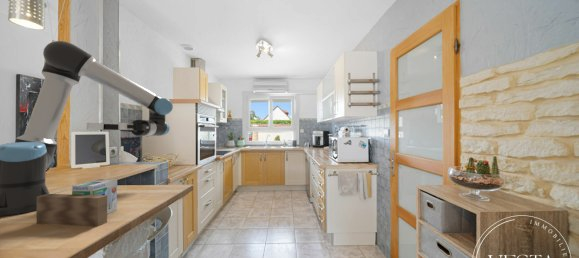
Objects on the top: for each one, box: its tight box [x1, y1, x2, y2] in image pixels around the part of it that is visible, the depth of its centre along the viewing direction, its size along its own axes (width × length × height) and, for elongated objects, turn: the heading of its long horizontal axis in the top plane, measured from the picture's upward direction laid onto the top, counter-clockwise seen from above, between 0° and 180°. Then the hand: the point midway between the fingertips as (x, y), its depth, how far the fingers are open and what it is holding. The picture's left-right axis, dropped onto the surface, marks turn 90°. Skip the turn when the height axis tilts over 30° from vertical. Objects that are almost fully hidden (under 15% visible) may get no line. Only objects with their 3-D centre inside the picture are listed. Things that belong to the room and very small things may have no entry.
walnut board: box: [35, 193, 108, 227], centre depth 70 cm, size 20×3×8 cm, turn 84°
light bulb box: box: [71, 178, 118, 215], centre depth 77 cm, size 11×7×11 cm, turn 0°
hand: (103, 126), depth 91 cm, fingers open, 13 cm apart
